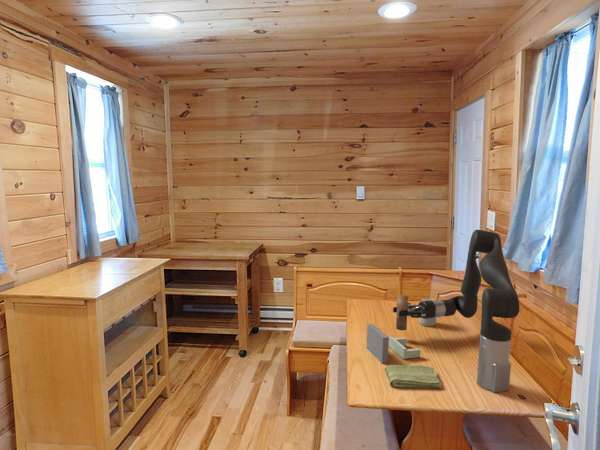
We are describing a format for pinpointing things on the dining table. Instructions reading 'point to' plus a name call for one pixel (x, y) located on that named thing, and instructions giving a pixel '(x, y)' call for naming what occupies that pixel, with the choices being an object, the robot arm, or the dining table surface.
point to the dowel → (401, 305)
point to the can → (428, 320)
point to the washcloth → (412, 376)
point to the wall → (377, 343)
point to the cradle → (403, 348)
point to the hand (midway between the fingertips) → (396, 311)
